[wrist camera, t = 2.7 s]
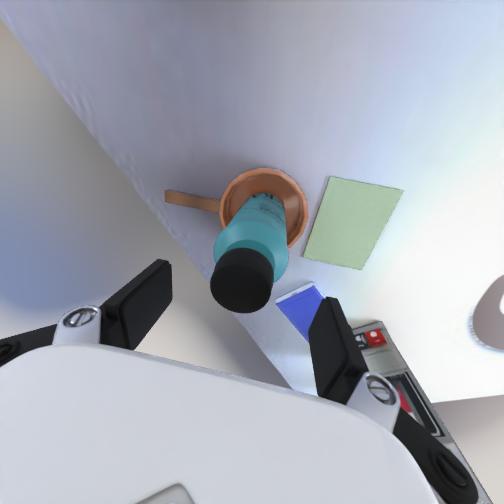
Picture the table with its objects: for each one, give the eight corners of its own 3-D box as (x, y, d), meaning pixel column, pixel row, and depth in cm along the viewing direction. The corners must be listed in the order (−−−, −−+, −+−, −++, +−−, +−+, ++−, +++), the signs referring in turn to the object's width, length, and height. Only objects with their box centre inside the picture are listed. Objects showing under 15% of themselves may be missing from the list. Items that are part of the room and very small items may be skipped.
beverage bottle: (275, 236, 31) (270, 344, 13) (237, 221, 30) (179, 311, 13) (293, 198, 28) (318, 272, 10) (251, 181, 27) (200, 226, 10)
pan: (222, 237, 32) (216, 246, 29) (230, 160, 27) (224, 160, 23) (292, 252, 32) (293, 262, 29) (315, 176, 26) (320, 179, 23)
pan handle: (169, 200, 28) (164, 202, 27) (168, 189, 27) (164, 190, 26) (223, 211, 28) (221, 213, 27) (224, 200, 27) (222, 202, 26)
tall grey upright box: (380, 319, 36) (546, 584, 14) (390, 339, 38) (550, 600, 15) (312, 339, 40) (353, 560, 18) (324, 356, 42) (374, 574, 20)
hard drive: (347, 330, 36) (314, 286, 32) (309, 344, 39) (275, 304, 35) (344, 324, 37) (313, 280, 34) (308, 337, 40) (275, 299, 37)
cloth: (302, 256, 32) (302, 257, 32) (330, 176, 26) (330, 176, 26) (360, 269, 32) (361, 270, 31) (402, 190, 25) (404, 190, 25)
